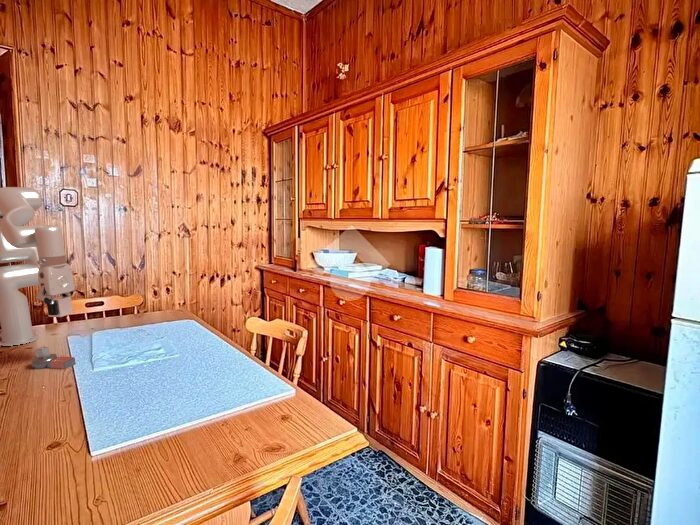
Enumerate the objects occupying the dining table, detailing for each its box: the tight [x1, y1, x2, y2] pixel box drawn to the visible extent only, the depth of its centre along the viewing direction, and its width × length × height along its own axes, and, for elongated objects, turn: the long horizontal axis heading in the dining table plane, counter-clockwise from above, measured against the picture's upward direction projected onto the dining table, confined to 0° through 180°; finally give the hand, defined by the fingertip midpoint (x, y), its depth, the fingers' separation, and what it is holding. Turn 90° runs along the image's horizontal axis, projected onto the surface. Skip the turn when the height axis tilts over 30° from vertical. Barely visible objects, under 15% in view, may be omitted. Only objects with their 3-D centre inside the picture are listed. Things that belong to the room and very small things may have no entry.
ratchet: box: [30, 346, 77, 370], centre depth 137 cm, size 14×7×6 cm, turn 78°
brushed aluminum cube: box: [46, 295, 74, 318], centre depth 141 cm, size 5×5×6 cm
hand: (60, 312), depth 141 cm, fingers closed on brushed aluminum cube, 5 cm apart
